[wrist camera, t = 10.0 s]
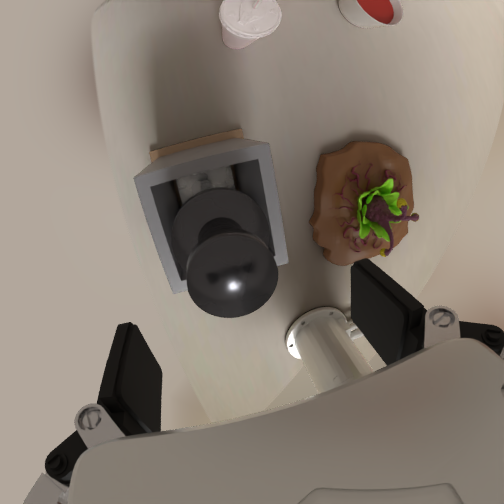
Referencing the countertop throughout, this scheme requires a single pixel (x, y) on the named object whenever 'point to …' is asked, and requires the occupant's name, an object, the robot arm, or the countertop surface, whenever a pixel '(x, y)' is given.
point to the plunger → (223, 245)
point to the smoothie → (248, 21)
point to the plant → (361, 202)
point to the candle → (372, 12)
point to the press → (199, 160)
